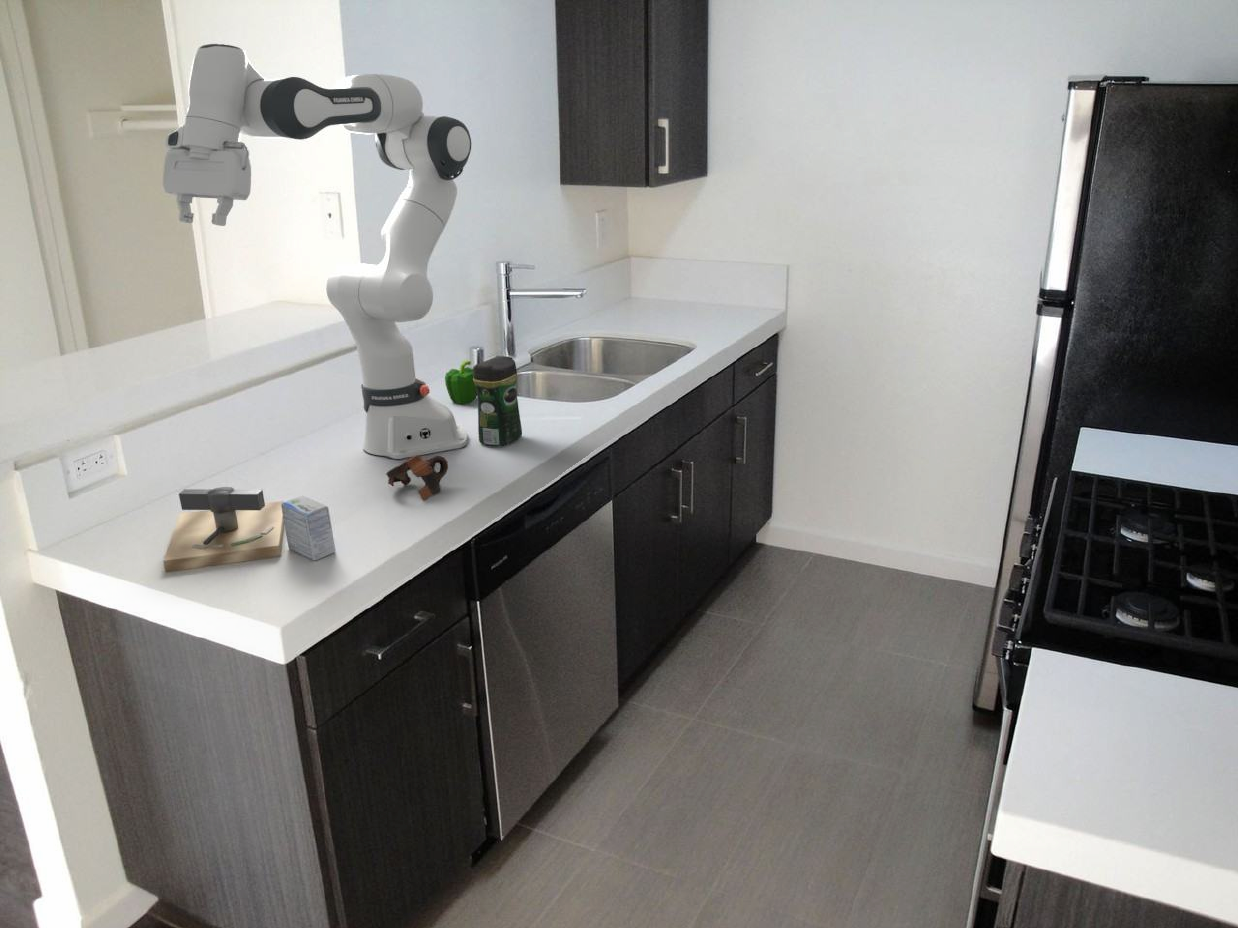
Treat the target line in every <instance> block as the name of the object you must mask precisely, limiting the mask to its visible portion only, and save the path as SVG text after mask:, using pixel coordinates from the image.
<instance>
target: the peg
mask: <svg viewBox="0 0 1238 928" xmlns="http://www.w3.org/2000/svg"><path fill="white" fill-rule="evenodd" d="M178 497H179V502H180V507H181V510H182V511H206V510H210V511H211V512H213V515H214V520H215V525H216V531H215V532H214V533H213V534H211V535H210V536H209V537H208V538H207V539H206V540H205V541H204V542H203V544H204V545H208V544H209V543H210V542H211V541H212V540H213V539H215V538H216V537H217V536H218V535H219V534H220V533H221V532H229V531H233V530H235V529H237V528H238V521H237V516H236V510H261V509H262V508H263V507H264V506H265V503H266V502H265V496H264V491H263V489H235V488H234V487H232V486H221V487H215V488H213V489H212V488H211V489H202V488H200V489H194V488H193V489H192V488H191V489H189V488H187V489H185V488H184V489H183V490H182V491H180V492H179V493H178Z"/></svg>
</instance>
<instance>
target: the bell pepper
mask: <svg viewBox="0 0 1238 928" xmlns="http://www.w3.org/2000/svg"><path fill="white" fill-rule="evenodd" d="M471 364H472V361H470V360H466V361H463V362H462V363H461V364H460V369H459V370H458V369H455V368H451V369H450V370H449V371H448V372H446V373H445V377H444V381H445V387H446V390H447V392H448V393H447V395H448V396H449V398H450V400H451V401H452V403H457V404H460V405H468V404H472V403H474V401H475V400H476V399H477V390H476V386H475V383H474V380H473V368H472V367H469V366H470V365H471ZM467 365H468V367H466V366H467Z"/></svg>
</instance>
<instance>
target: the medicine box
mask: <svg viewBox="0 0 1238 928" xmlns="http://www.w3.org/2000/svg"><path fill="white" fill-rule="evenodd" d="M281 507H282V513H283V519H284V530H285V535H286V541H287V546H288V549H289V550H291V551H293V552H295V553H298V555H299V554H300V555H301V556H303V557H305V558H307V559H310V560H312V561H313V562H315V561H318V560H320V559H323V558H325V557H327V556H329V555H333V554H335V552H337V551H336V545H335V539H334V533H333V528H332V522H331V515H330V510H329V506H327V505H326V504H323V503H320V502H319V501H316V500H314V499H312V498H309V497H307V496H304V495H300V496H298V497H294V498H292V499H288V500H286V501H284V503H282V504H281Z"/></svg>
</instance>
